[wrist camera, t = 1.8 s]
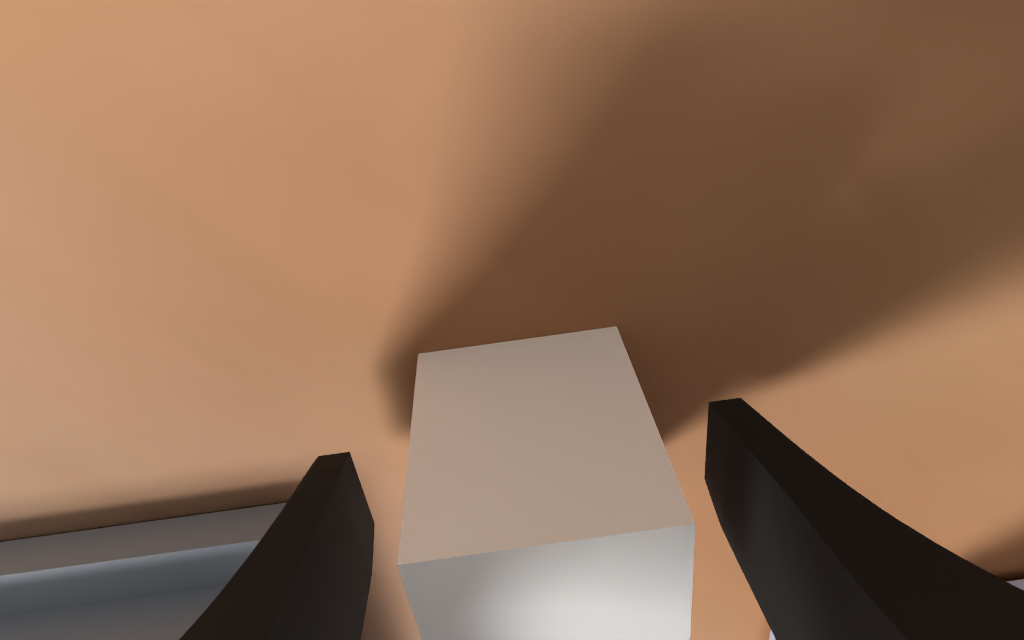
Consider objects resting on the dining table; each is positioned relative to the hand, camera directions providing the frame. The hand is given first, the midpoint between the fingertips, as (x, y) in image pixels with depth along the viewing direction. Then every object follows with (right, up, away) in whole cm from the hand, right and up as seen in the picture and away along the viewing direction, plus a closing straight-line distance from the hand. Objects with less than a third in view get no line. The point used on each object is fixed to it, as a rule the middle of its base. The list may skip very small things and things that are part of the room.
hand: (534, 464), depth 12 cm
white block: (0, +1, +1) cm, 2 cm away
